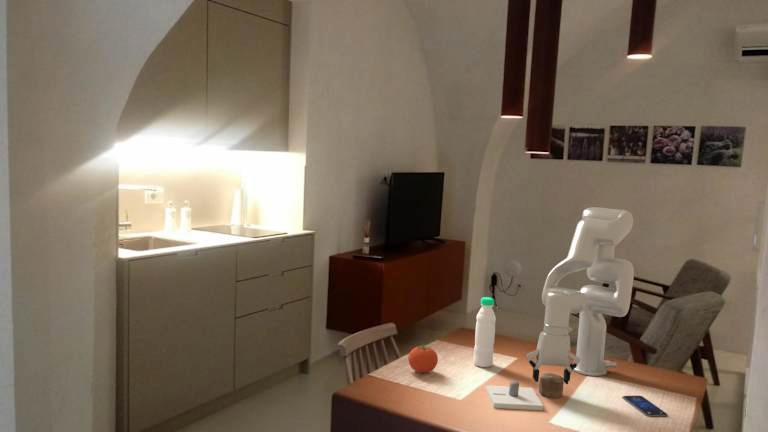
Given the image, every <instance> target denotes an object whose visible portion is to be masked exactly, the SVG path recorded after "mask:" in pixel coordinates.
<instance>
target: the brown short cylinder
mask: <svg viewBox="0 0 768 432" xmlns="http://www.w3.org/2000/svg"><path fill="white" fill-rule="evenodd" d="M564 384H565V382H564V381H563V376H561V375H558V374H556V373H552V372H551V373H550V372H546V373H542V374H540V376H539V389H538V393H539V394H540V396H542V397H545V398H546V399H553V400H559V399H560V398H562V397H563V394H564V393H563V392H564Z"/></svg>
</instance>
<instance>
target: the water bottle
mask: <svg viewBox="0 0 768 432" xmlns="http://www.w3.org/2000/svg"><path fill="white" fill-rule="evenodd" d="M494 304H495V299H494V298H492V297H488V296H485V297H481V298H480V305H481V307H480V309H479V311H478V312H477V314H476V317H475V319H476V323H475V331H474V333H475V335H474V344H475V345H474V346H473V347H474V348H473V349H474V350H473V358H472V360H473V361H472V362H473V365H474V366H476V367H478V366H480V367H479V368H484V367H486V368H490V366H491V367H492V366H493V363H494V345H495V337H496V321H497V317H496V314H495V312H494V309H493V307H494Z"/></svg>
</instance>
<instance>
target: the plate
mask: <svg viewBox="0 0 768 432" xmlns="http://www.w3.org/2000/svg"><path fill="white" fill-rule="evenodd" d="M485 391H487V392H486V394H487V396H488V399H489V401H490V403H491V405H492V407H493V409H507V410H508V409H510V410H528V411H529V410H531V411H532V410H533V411H543V410H544V405H543V403H542V401H541V399H540V398H539V396H538V394H536V392H535V390H534V389H533V387H525V386H524V387H521V386H520V383H519V382H518V381H515V380H512V381H510V382H509V386H507V385H506V386H504V385H485Z"/></svg>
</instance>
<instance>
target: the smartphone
mask: <svg viewBox="0 0 768 432" xmlns="http://www.w3.org/2000/svg"><path fill="white" fill-rule="evenodd" d="M621 398H622V399H623V401H625V402H626V403H628V404H629V405H631V407H633V408H635V409H636V410H637V411H639V412H640V413H641V414H643V416H645V417H647V418H658V417H659V418H668V417H669V416H668V415H669V414H668V413H667V412H665V411H664V410H662V409H661V408H660V407H658V406H657V405H655V404H654V403H653V402H651V401H650V400H648V399H647V398H645V396H642V395H622V397H621Z"/></svg>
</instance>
